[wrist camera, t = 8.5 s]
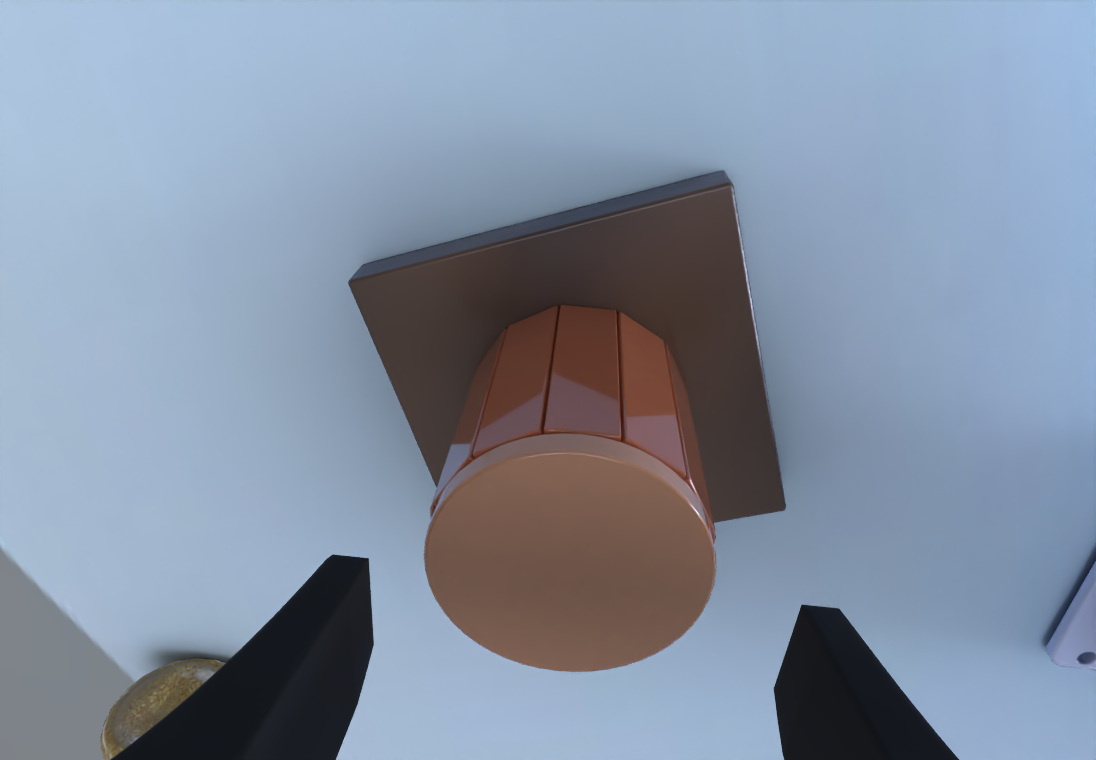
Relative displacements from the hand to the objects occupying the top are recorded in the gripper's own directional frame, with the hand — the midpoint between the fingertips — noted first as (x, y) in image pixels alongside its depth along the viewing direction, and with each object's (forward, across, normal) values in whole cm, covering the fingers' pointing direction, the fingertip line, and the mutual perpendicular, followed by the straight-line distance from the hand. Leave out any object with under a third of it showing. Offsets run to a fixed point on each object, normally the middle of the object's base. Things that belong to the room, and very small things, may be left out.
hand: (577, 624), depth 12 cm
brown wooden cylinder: (+7, 0, 0) cm, 7 cm away
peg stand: (+8, 0, 0) cm, 8 cm away
